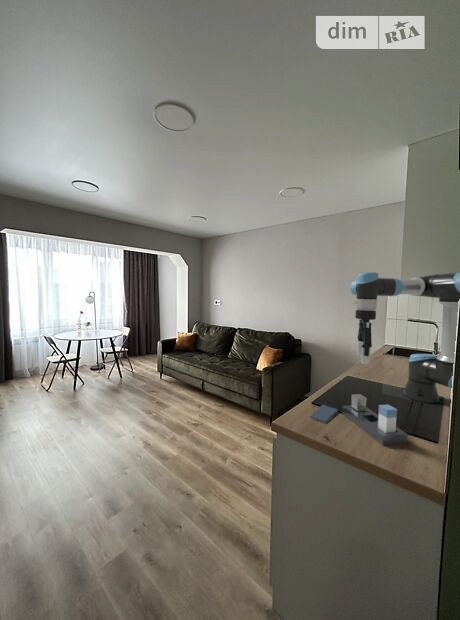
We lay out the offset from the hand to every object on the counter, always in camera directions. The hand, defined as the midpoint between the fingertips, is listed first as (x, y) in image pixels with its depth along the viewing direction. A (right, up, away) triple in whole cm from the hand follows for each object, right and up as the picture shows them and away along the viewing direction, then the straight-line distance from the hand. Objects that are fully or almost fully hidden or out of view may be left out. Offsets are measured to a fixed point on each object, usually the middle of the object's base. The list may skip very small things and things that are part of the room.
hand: (362, 359), depth 105 cm
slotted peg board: (+2, -27, -3) cm, 27 cm away
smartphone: (-14, -27, +7) cm, 31 cm away
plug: (+3, -28, -11) cm, 30 cm away
